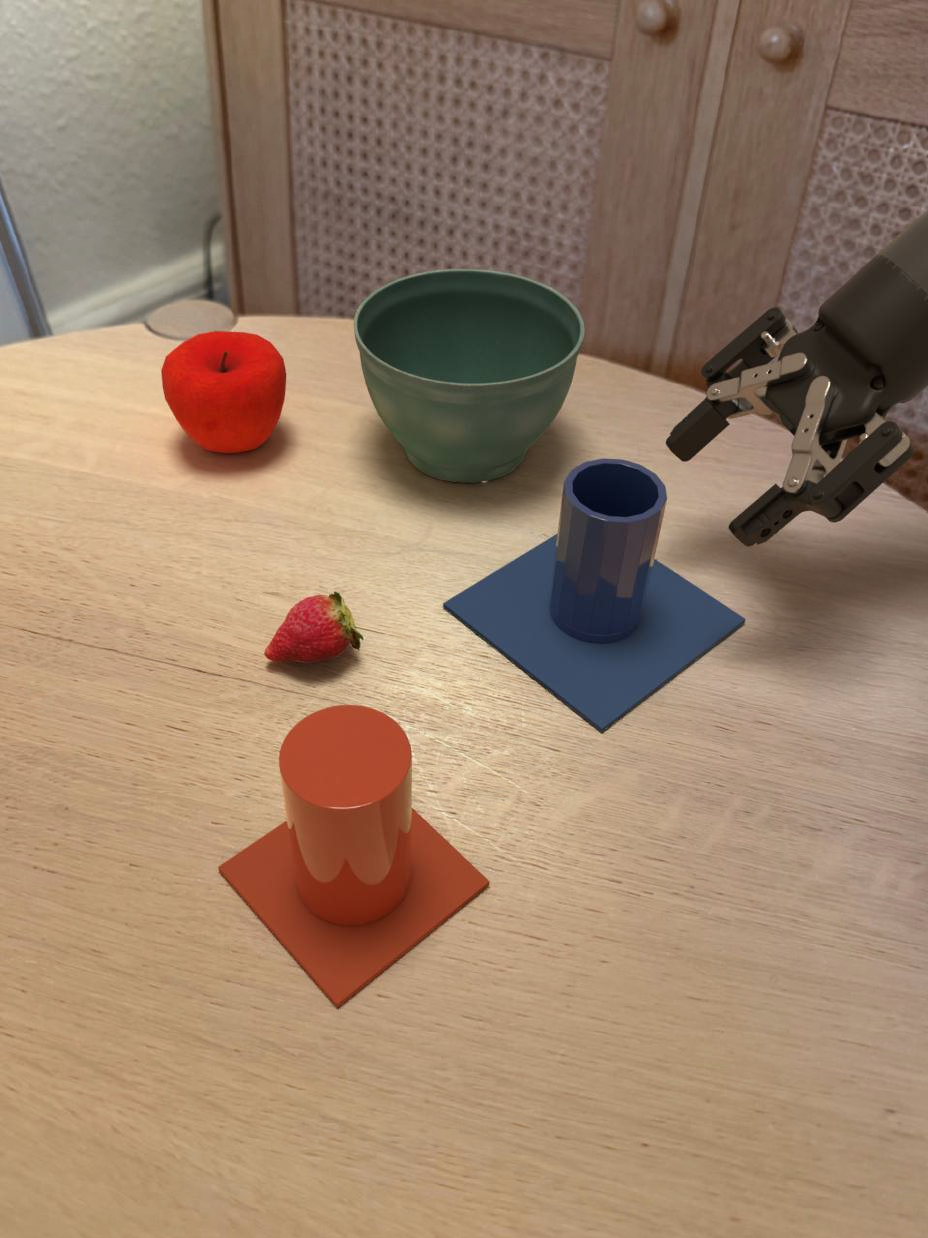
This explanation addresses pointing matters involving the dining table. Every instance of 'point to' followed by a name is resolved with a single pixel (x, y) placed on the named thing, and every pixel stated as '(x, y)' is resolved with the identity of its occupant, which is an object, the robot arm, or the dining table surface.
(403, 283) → the flower pot
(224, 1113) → the dining table surface
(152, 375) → the dining table surface
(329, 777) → the tall red cylinder
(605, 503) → the blue cup
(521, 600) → the blue mat
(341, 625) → the fruit
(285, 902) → the red mat
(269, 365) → the apple
